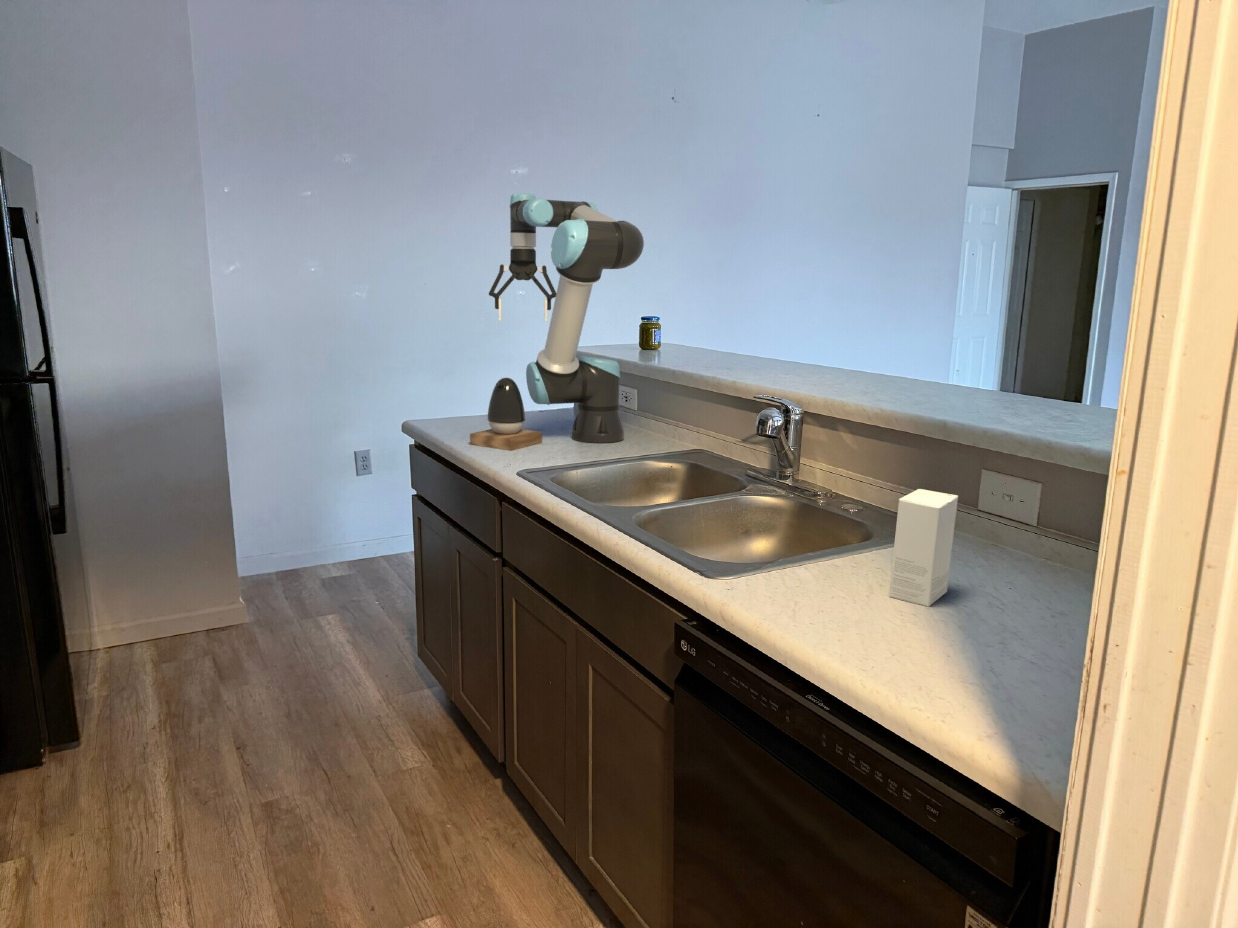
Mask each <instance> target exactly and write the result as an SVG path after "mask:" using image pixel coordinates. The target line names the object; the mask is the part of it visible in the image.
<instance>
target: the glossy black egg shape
mask: <svg viewBox="0 0 1238 928" xmlns="http://www.w3.org/2000/svg"><path fill="white" fill-rule="evenodd" d="M523 402H524V401H523V397H522V394H521V391H520V388H519V387H518V384H517V383H516V381H514V379H512V378H510V377H501V378H500V379H499V380H498V381H497V382H496V383H495V385H494V388H493V389H492V393H491V395H490V399H489V403H488V409H487V421H488V424H489V426H490V429H492V430H493V431H494V432H496V433H498V434H515V433H517V432H518V431H520V430H521V429H522V428H523V426H524V423H525V421H526V414H525V413H526V411H525V408H524V403H523Z"/></svg>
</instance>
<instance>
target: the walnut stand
mask: <svg viewBox="0 0 1238 928" xmlns="http://www.w3.org/2000/svg"><path fill="white" fill-rule="evenodd" d="M542 443H543V432H542V431H538V430H529V429H522V428H521V430H520V431H518V432H517V433H515V434H498V433H496V432H494V431H493V430H492V429H491V428H490V429H485V430H481V431H476V432H472V433H469V444H470V446H478V447H483V448H490V449H491V448H492V449H497V448H498V449H499V450H503V451H504V450H505V451H516V450H520V449H522V448H528V447H532V446H535V445H538V444H542Z"/></svg>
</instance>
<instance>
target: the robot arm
mask: <svg viewBox="0 0 1238 928" xmlns="http://www.w3.org/2000/svg"><path fill="white" fill-rule="evenodd" d="M509 203H510V204H509V211H510V213H509V214H510V216H509V219H510V223H509V224H510V227H509V228H510V237H509V238H510V239H509V242H510V244H509V246H510V247H511V248H510V250H509V251H510V254H509V256H510V257H509V258H510V260H509V261H510V263H509V265H506V264H500V265H499V271H498V273H497V275H496V278H495V280H494V281H493V284H492V286H491V287H490V290H489V292H488V296H489V297H492V298H494V309H495V310H498V321H501V322H502V318H503V317H502V309H503V308H502V298H501V297H500V296H501V295H502V294H503V293H504V292H505V290H506V289H508V287H509V286H510V285H511V283H512V282H513V281H514V280H517V281H523V280H524V281H530V280H532V282H534V284H535V285H536V286H537V287H538V289H539V290H540V291H541V292H542V294H543V295H544V296H545V297H546V299H543V300H544V304H543V305H544V306H543V307H544V310H543V311H544V313H543V315H544V316H543V317H544V318H543V320H544V322H547V323H548V311H551V310H552V312H551V318H550V321H549V327H548V331H547V335H546V336H547V337H546V341H545V345H544V348H543V349H542V350H540V351H539V352H538V354H537V356H536V361H531V362H529V363H528V364H527V365H526V368H525V369H526V370H525V371H526V372H525V375H526V376H525V378H526V385H527V391H528V393H529V397H530V399H531V400H532V401H533V403H535V404H537V405H548V406H550V405H559V404H577V413H576V416H575V419H574V422H573V424H572V427H571V439H572V440H574V441H579V442H584V443H593V444H594V443H596V444H598V443H599V444H601V443H603V444H604V443H606V444H607V443H615V442H621V441H623V440H624V439H625V430H624V426H623V422H622V420H621V416H620V411H619V410H620V409H619V408H620V407H619V405H620V403H619V402H620V379H621V373H620V364H619V363H618V361H616V360H614V359H608V358H601V357H595V356H589V355H579V356H578V358H577V352H578V348H579V342H580V338H581V336H582V330H583V327H584V322H585V317H586V314H587V310H588V305H589V302H590V297H591V293H592V291H593V287H594V286H593V285H594V284H595V283H597V282H599V281H600V279H601V277H602V275H603V274H602V272H603V270H620V269H625V268H627V267H629V266H631V265H633V264H634V263H635V262H637V261H638V260H639V259H640V257H641V255H642V253H643V251H644V246H645V244H644V243H645V242H644V236H643V233H642V232H641V231H640V229H639V228H638V227H637V226H636V225H634V224H632V223H631V222H630V221H629V222H628V221H627V220H616V219H613V218H612V217H610V216H608V215H606V214H604V213H602V212H599V210H598V207H597V205H596V204H595V203H593V202H590V201H589V202H588V201H571V200H570V201H567V200H557V199H555V200H553V199H545V198H541V197H540V198H538V197H537V196H536V195H535V194H533V193H525V192H523V193H522V192H520V193H518V192H517V193H512V194H511V195H510V201H509ZM538 227H539V228H540V227H541V228H556V229H555V231H554V233H553V236H552V240H551V245H550V247H551V248H550V249H551V252H550V258H551V262H552V264H553V265H554V267H555V269H556V270H555V271H556V272H557V274H558V275H559V280H558V285H557V288H556V290H555V287H554V286H553V283H552V281H551V279H550V277H549V275H548V271H547V266H546V265H540V266H537V250H536V249H535V248H536V247H537V228H538ZM507 270H508V271H509V272H510V273H511V276H510V277H509V278H508V279H507V281H505V282H504V284H503V285H502V286H501V288H500V289H499V290H498V291H497V292H495V291H496V288H497V287H498V285H499V283H500V281H501V279H502V276H503V274H504V273H506V272H507ZM537 271H539V273H540V274H542V275H543V278H544V279H545V281H546V284H547V286H548V288H549V291H550V292H551V293H549V292H548V291H547V289H546V288H545V287H544V286H543V285H542V283H541V282H540V281H539V280H538V278H537V277H536V276H535V274H536V273H537ZM554 298H555V299H554ZM553 299H554V304H553V307H552V300H553Z"/></svg>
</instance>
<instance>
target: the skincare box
mask: <svg viewBox="0 0 1238 928" xmlns="http://www.w3.org/2000/svg"><path fill="white" fill-rule="evenodd" d="M958 501H959V495H957V494H950V493H945V492H939V491H935V490H934V491H933V490H927V489H923V488H917V489H916V490H914V491H912V492H910V493H908V494H907V495H905V496H902V497H901V498H898V507H897V517H896V526H895V535H894V536H895V537H894V543H893V544H894V546H893V555H892V564H891V565H892V566H891V574H890V580H889V583H890V584H889V589H888V590H889V591H888V596H889V598H892V599H895V600H900V601H905V602H908V603H912V604H916V605H919V606H924V607H930V606H931V605H933V604H934V603H935V602H936V601H938V600H939V599H940V598H941V597H943V595H945V594H946V593H947V592H948V583H949V575H950V568H951V567H950V566H951V558H952V552H953V551H952V550H953V542H954V534H955V532H954V531H955V525H956V517H957V509H958Z"/></svg>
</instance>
